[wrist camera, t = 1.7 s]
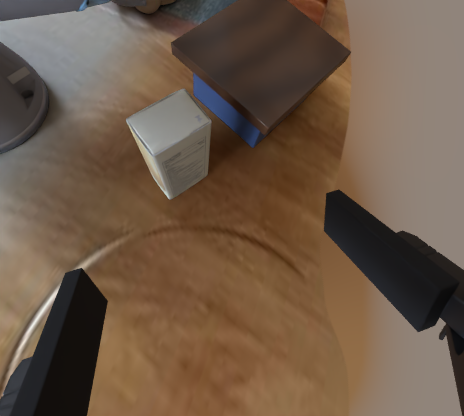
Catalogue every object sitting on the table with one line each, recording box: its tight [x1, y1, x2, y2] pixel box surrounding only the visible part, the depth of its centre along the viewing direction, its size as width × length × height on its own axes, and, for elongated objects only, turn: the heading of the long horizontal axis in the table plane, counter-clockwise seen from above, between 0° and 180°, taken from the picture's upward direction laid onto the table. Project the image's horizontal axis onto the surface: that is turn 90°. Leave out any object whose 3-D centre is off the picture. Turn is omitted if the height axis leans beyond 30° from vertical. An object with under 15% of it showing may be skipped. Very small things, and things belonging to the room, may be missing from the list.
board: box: [171, 0, 351, 135], centre depth 30 cm, size 15×17×2 cm
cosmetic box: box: [126, 89, 212, 199], centre depth 27 cm, size 6×4×12 cm
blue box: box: [193, 73, 307, 148], centre depth 34 cm, size 12×13×7 cm
